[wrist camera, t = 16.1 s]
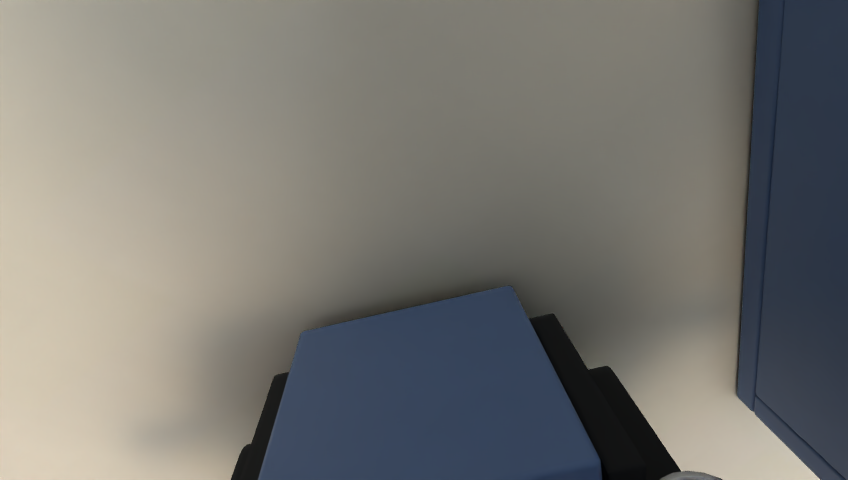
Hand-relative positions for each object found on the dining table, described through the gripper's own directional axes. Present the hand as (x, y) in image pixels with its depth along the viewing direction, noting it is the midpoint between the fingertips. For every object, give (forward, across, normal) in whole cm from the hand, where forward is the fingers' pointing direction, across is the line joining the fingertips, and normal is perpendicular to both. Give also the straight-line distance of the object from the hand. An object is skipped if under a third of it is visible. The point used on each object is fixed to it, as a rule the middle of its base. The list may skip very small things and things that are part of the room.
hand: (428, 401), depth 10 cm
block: (0, 0, 0) cm, 0 cm away
